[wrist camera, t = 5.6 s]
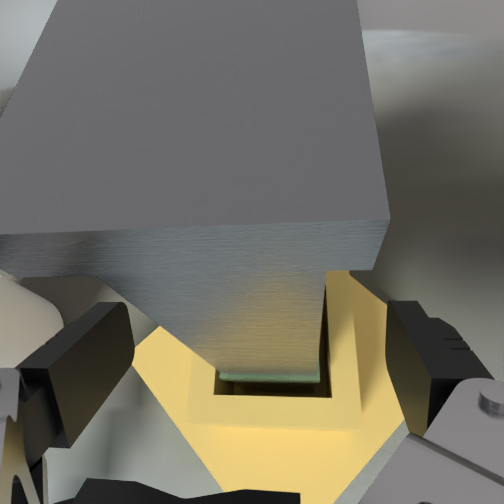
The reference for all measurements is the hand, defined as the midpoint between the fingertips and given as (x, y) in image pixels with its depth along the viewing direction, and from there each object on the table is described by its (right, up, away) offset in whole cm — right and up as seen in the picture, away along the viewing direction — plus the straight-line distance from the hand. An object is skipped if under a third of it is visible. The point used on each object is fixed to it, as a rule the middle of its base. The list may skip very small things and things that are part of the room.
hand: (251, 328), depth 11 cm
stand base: (+2, -4, +12) cm, 13 cm away
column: (+2, -4, +11) cm, 12 cm away
